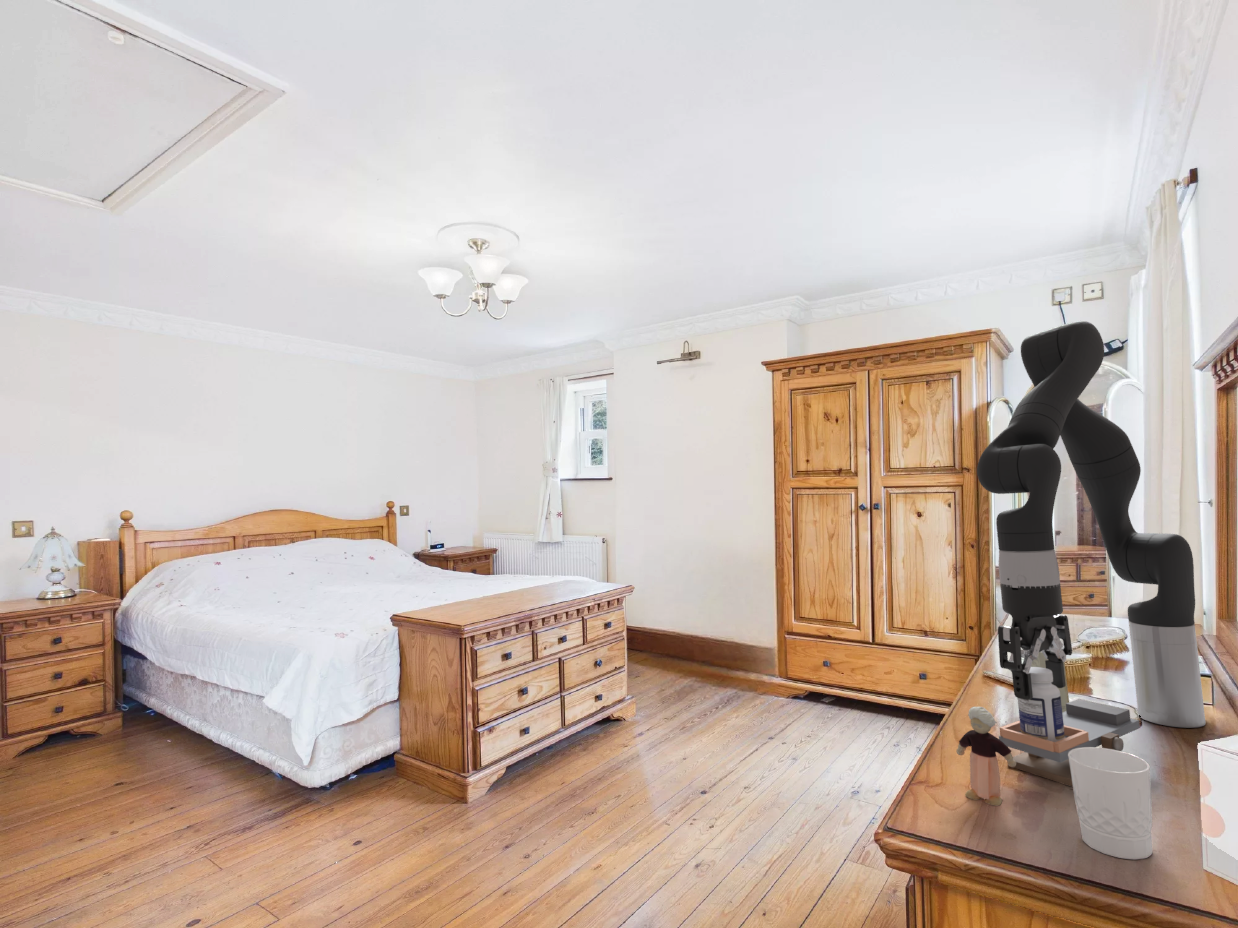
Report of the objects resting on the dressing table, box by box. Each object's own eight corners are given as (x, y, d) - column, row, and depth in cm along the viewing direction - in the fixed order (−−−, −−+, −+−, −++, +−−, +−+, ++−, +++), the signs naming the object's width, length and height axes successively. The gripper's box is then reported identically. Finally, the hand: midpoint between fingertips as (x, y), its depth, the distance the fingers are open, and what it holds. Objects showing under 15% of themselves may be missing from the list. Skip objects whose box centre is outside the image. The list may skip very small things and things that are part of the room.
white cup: (1164, 869, 72) (1155, 777, 72) (1078, 852, 76) (1069, 765, 77) (1152, 836, 78) (1144, 752, 79) (1073, 823, 83) (1066, 743, 83)
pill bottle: (1051, 731, 96) (1045, 664, 97) (1073, 744, 91) (1066, 674, 92) (1013, 731, 97) (1007, 665, 97) (1032, 745, 91) (1026, 675, 92)
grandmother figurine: (954, 798, 91) (947, 706, 92) (961, 788, 94) (953, 699, 95) (1018, 812, 86) (1009, 715, 87) (1022, 801, 89) (1014, 707, 90)
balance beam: (1079, 713, 106) (1077, 696, 106) (1139, 728, 99) (1138, 709, 99) (999, 744, 95) (997, 724, 96) (1059, 762, 88) (1057, 741, 88)
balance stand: (1044, 750, 105) (1039, 706, 106) (1146, 780, 93) (1141, 730, 93) (1007, 765, 100) (1003, 719, 101) (1110, 799, 88) (1105, 746, 89)
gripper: (1030, 573, 102) (1041, 678, 101) (975, 584, 95) (985, 696, 94) (1083, 577, 95) (1094, 688, 94) (1027, 588, 88) (1039, 709, 87)
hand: (1040, 692), depth 94 cm, fingers open, 8 cm apart
